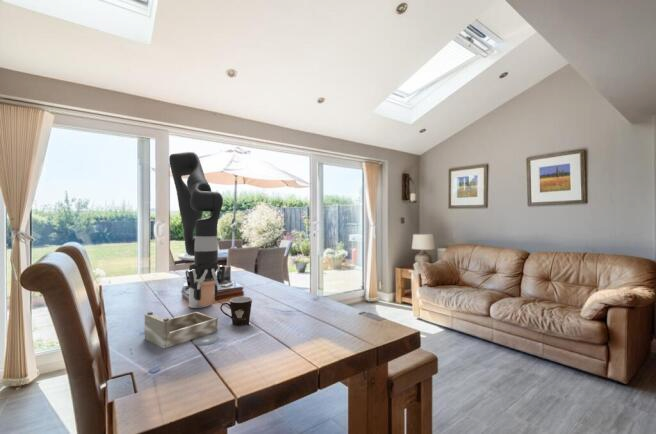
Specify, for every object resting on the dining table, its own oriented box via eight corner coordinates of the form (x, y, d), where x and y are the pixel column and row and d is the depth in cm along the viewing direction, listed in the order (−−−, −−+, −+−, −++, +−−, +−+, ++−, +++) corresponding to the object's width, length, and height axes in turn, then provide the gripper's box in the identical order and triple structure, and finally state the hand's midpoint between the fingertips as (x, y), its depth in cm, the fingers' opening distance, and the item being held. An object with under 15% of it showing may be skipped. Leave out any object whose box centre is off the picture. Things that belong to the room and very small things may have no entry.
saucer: (209, 335, 113) (209, 333, 113) (223, 341, 108) (223, 338, 108) (187, 343, 106) (187, 340, 106) (201, 349, 101) (201, 346, 101)
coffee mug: (256, 322, 127) (256, 297, 127) (243, 329, 119) (244, 303, 119) (232, 318, 131) (232, 295, 131) (218, 325, 123) (218, 300, 123)
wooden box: (196, 324, 125) (196, 300, 125) (217, 331, 116) (217, 306, 116) (143, 339, 109) (144, 312, 109) (164, 350, 100) (164, 320, 100)
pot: (208, 299, 111) (209, 277, 111) (219, 302, 108) (219, 279, 108) (192, 303, 106) (192, 279, 106) (202, 307, 103) (203, 282, 103)
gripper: (217, 246, 115) (217, 292, 115) (180, 250, 103) (179, 300, 103) (230, 248, 111) (230, 295, 111) (192, 251, 99) (192, 304, 99)
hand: (205, 297), depth 107 cm, fingers closed on pot, 5 cm apart
